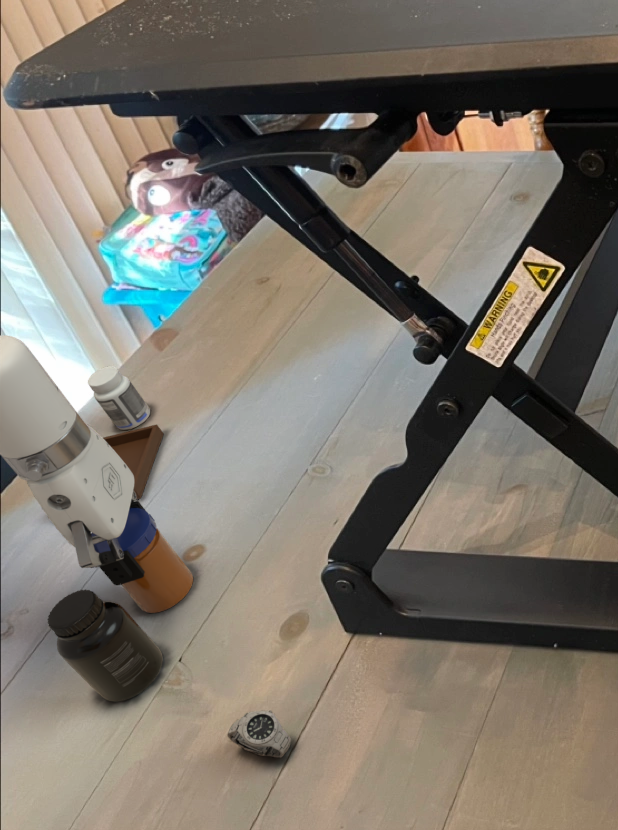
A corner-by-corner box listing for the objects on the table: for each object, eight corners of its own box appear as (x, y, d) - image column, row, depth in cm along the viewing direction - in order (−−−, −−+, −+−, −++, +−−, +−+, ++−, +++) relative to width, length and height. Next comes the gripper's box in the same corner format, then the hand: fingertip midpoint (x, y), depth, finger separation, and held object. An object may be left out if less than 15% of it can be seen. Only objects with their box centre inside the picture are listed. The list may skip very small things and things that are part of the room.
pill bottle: (146, 402, 152) (115, 358, 147) (155, 417, 149) (124, 373, 143) (112, 420, 150) (80, 377, 145) (121, 436, 147) (88, 392, 141)
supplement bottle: (166, 637, 117) (109, 570, 110) (163, 687, 112) (104, 620, 105) (102, 663, 116) (41, 597, 109) (97, 714, 111) (31, 649, 103)
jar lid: (97, 576, 114) (89, 567, 113) (91, 537, 119) (83, 528, 118) (160, 544, 116) (153, 535, 115) (152, 507, 121) (145, 498, 120)
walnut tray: (56, 519, 136) (47, 509, 134) (84, 453, 145) (77, 443, 144) (141, 498, 136) (133, 488, 135) (163, 433, 145) (157, 424, 144)
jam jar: (133, 619, 120) (89, 568, 114) (145, 577, 125) (103, 525, 119) (188, 603, 121) (147, 551, 115) (197, 561, 125) (158, 510, 120)
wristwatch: (284, 768, 102) (261, 741, 99) (232, 757, 104) (208, 731, 101) (304, 734, 105) (282, 707, 101) (253, 724, 106) (230, 697, 103)
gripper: (68, 492, 101) (159, 603, 112) (100, 379, 115) (179, 489, 126) (-13, 517, 100) (87, 627, 111) (29, 401, 114) (115, 509, 125)
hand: (135, 553), depth 119 cm, fingers closed on jar lid, 6 cm apart
